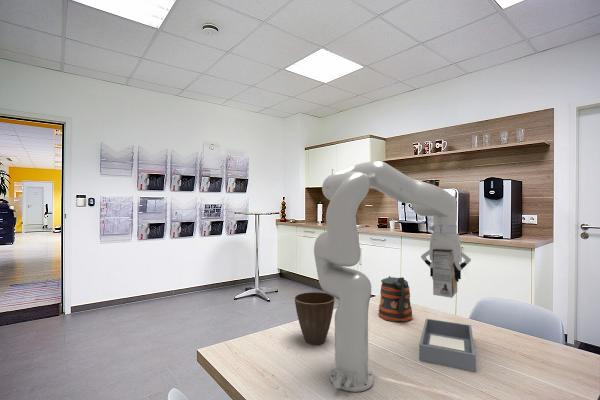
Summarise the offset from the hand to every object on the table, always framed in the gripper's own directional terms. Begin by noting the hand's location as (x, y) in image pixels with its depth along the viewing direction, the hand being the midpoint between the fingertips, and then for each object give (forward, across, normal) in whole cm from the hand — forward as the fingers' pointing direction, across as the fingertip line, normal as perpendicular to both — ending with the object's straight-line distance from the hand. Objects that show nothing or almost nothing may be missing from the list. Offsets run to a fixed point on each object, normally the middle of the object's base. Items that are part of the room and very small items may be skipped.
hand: (445, 279), depth 111 cm
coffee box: (+5, 0, 0) cm, 5 cm away
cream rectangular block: (+23, 0, -11) cm, 25 cm away
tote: (+24, 0, -4) cm, 24 cm away
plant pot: (+24, -44, -16) cm, 53 cm away
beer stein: (+24, -20, +21) cm, 38 cm away
